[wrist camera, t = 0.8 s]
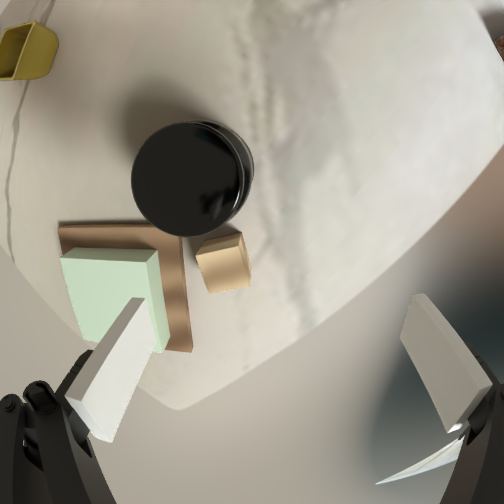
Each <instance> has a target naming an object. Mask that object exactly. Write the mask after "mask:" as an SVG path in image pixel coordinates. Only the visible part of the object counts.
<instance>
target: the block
mask: <svg viewBox="0 0 504 504" xmlns="http://www.w3.org/2000/svg"><path fill="white" fill-rule="evenodd" d="M196 259H197V262H198V265H199V268H200V270H201V273H202V276H203V279H204V282H205V285H206V287H207V290H208V293H209V294H210V293H216V292H221V291H226V290H231V289H237V288H242V287H247V286H250V278H251V264H250V261H249V257H248V254H247V250H246V246H245V243H244V239H243V235H242V232H241V233H237V234H232V235H228V236H224V237H220V238H215V239H211V240H207V241H204V242H203V244H202V245H201V247H200V249H199V251H198V252H197V254H196Z"/></svg>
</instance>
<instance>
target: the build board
mask: <svg viewBox="0 0 504 504" xmlns="http://www.w3.org/2000/svg"><path fill="white" fill-rule="evenodd" d="M58 233H59V238H60V244H61V249H62V253H63V255H64V254H66V253H67V252H69V251H70V250H72V249H73V248H75V247H80V248H112V249H146V250H158V259H159V267H160V275H161V282H162V289H163V296H164V302H165V309H166V315H167V320H168V326H169V332H170V338H169V340H168V343H167V345H166V347H165V349H164V350H172V351H181V352H190V353H191V352H192V349H193V341H192V333H191V326H190V318H189V309H188V300H187V291H186V281H185V271H184V259H183V247H182V237H177V236H173V235H170V234H167V233H165V232H163V231H161V230H159V229H157V228H156V227H154V226H153V225H152V224H100V225H63V226H61V227H59V228H58Z"/></svg>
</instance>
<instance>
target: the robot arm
mask: <svg viewBox="0 0 504 504" xmlns="http://www.w3.org/2000/svg"><path fill="white" fill-rule="evenodd" d="M400 339H401V341H402V343H403V344H404V346H405V348H406V350H407V352H408V354H409V355H410V357H411V359H412V361H413V363H414V365H415V367H416V369H417V371H418V372H419V374H420V376H421V378H422V380H423V382H424V384H425V386H426V388H427V390H428V392H429V394H430V396H431V398H432V401H433V403H434V405H435V407H436V409H437V411H438V413H439V416H440V418H441V420H442V422H443V424H444V427H445V429H446V432H447V433H449V432H452V431H454V430H457V429H459V428H461V427H462V426H463V424H464V423H465V422H466V421H467V419H468V421H469V423H470V425H469V426H468V427H467V428H466V430H465V431H464V432H463V433H462V434H461V435H460V437H459V438H458V440H460V439H461V438H462V437H463V436H464V435H465V437H464V440H463V444H462V447H461V450H460V453H459V456H458V459H457V462H456V465H455V468H454V471H453V473H452V476H451V479H450V481H449V484H448V486H447V488H446V491H445V493H444V495H443V498H442V500H441V502H440V504H504V384H500V383H499V381H498V380H497V378H496V377H495V375H494V374H493V372H492V371H491V369H490V368H489V367H488V365H487V364H486V363H485V361H484V360H483V358H482V357H480V354H479V353H478V351H477V350H476V349H475V347H473V346H472V345H471V344H469V343H468V342H463V341H462V339H461V338H460V337H459V335H458V334H457V333H456V332H455V330H454V329H453V328H452V326H450V324H449V323H448V322H447V320H446V319H445V318H444V317H443V315H442V314H441V313H440V311H439V310H438V309H437V308H436V307H435V305H434V304H433V303H432V302H431V301H430V300H429V298H428V297H427V296H426V295H425V294H424V293H422V294H412V298H411V301H410V305H409V308H408V312H407V316H406V319H405V322H404V325H403V329H402V332H401V335H400ZM156 342H157V340H156V336H155V333H154V329H153V326H152V322H151V318H150V314H149V310H148V306H147V302H146V298H135V297H132V298H131V299H130V301H129V302H128V303H127V305H126V306H125V307H124V309H123V310H122V311H121V313H120V314H119V316H118V317H117V318H116V320H115V321H114V322H113V324H112V325H111V327H110V328H109V329H108V331H107V332H106V334H105V335H104V337H103V338H102V339H101V341H100V342H99V344H98V345H97V347H96V348H95V350H87V351H86V352H85V353H83V354H82V355H81V356H80V357H79V358H78V360H77V361H76V362H75V364H74V366H73V367H72V368H71V370H70V372H69V373H68V374H67V375H66V377H65V379H64V380H63V381H62V383H61V384H60V386H59V388H58V389H57V391H56V392H55V393H54V391H53V390H52V388H51V387H50V386H49V384H48V383H47V382H45V381H41V380H40V381H35V382H33V383H31V384H29V385H28V386H27V387H26V389H25V390H24V392H23V398H24V400H25V401H26V402H27V403H23V402H22V400H21V399H20V398H19V396H17V395H16V394H8V395H6V396H5V397H3V398H2V400H1V401H0V504H116V501H115V499H114V497H113V495H112V493H111V491H110V489H109V487H108V485H107V483H106V480H105V478H104V476H103V474H102V471H101V469H100V466H99V464H98V461H97V459H96V456H95V453H94V451H93V448H92V445H91V442H90V440H89V438H88V437H87V435H88V433H89V431H91V432H92V434H93V435H94V436H95V437H96V438H98V439H101V440H104V441H107V442H110V443H111V442H112V441H113V438H114V436H115V433H116V431H117V429H118V426H119V424H120V421H121V419H122V417H123V415H124V412H125V410H126V408H127V405H128V403H129V401H130V398H131V396H132V394H133V391H134V390H135V387H136V385H137V383H138V381H139V379H140V376H141V374H142V372H143V370H144V368H145V366H146V363H147V361H148V359H149V357H150V355H151V353H152V351H153V349H154V347H155V344H156ZM23 440H24V446H23Z"/></svg>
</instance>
